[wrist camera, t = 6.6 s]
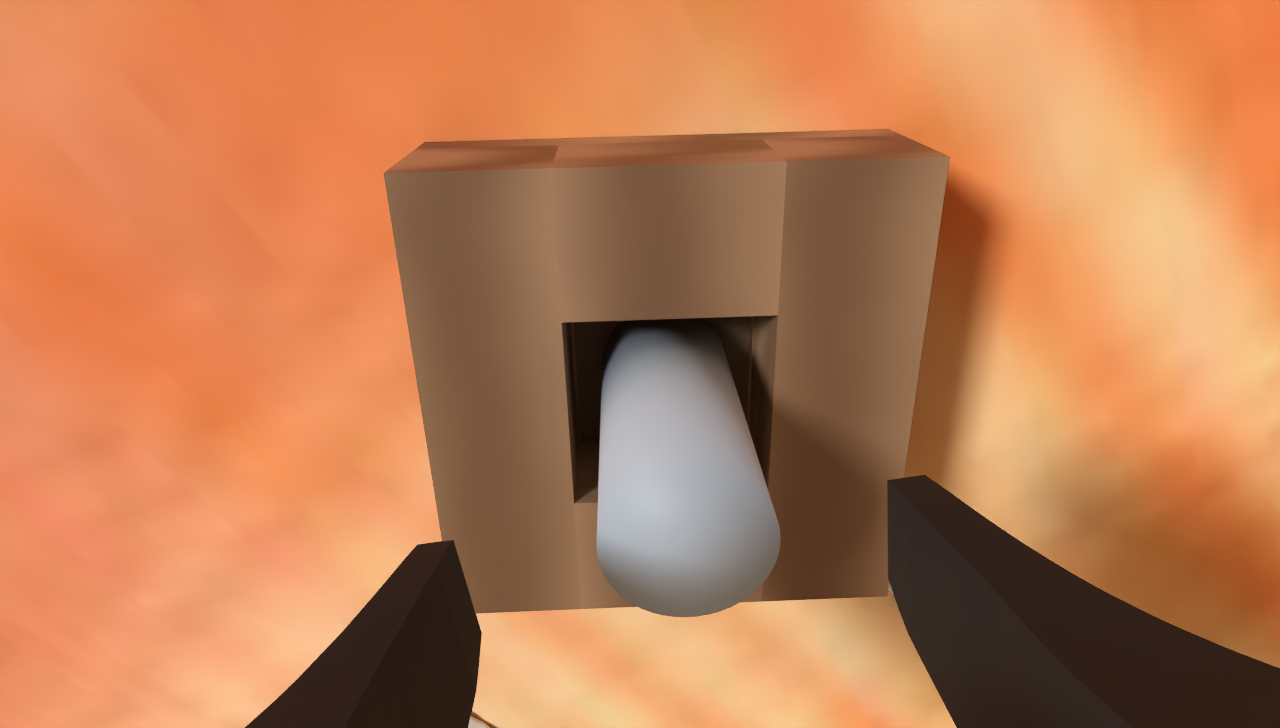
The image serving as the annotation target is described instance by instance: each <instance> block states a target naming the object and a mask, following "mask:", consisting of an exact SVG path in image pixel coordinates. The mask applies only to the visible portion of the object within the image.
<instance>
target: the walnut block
mask: <svg viewBox="0 0 1280 728" xmlns="http://www.w3.org/2000/svg"><path fill="white" fill-rule="evenodd" d="M949 160H950V157H949V156H947V155H945V154H942V153H940V152H938V151H936V150H934V149H931V148H929V147H927V146H925V145H922V144H920V143H918V142H916V141H914V140H911V139H909V138H907V137H905V136H903V135H900V134H898V133H896V132H894V131H891V130H889V129H883V130H847V131H811V132H775V133H740V134H704V135H668V136H632V137H597V138H561V139H525V140H489V141H454V142H425V143H423V144H422V145H421V146H419V147H418V148H417V149H415V150H414V151H413V152H411V153H410V154H409V155H407V156H406V157H405V158H403V159H402V160H401V161H399V162H398V163H397V164H395V165H394V166H393V167H391V168H390V169H389V170H387V171H386V172H385V173H384V178H385V184H386V190H387V197H388V203H389V209H390V216H391V222H392V228H393V234H394V241H395V247H396V253H397V260H398V266H399V272H400V278H401V285H402V291H403V297H404V304H405V310H406V316H407V323H408V329H409V335H410V341H411V348H412V354H413V360H414V367H415V373H416V379H417V385H418V392H419V398H420V404H421V411H422V417H423V423H424V429H425V436H426V442H427V448H428V455H429V461H430V467H431V474H432V480H433V486H434V492H435V499H436V505H437V511H438V518H439V524H440V530H441V536H442V541H449V540H454V543H455V547H456V550H457V553H458V557H459V560H460V563H461V567H462V570H463V573H464V577H465V580H466V583H467V587H468V590H469V593H470V597H471V600H472V603H473V606H474V610H475V613H495V612H519V611H543V610H567V609H590V608H614V607H638V606H636V605H634V604H632V603H630V602H629V601H627V600H626V599H624V598H623V597H622V596H621V595H620V594H618V593H617V592H616V591H615V590H614V589H613V587H612V586H611V585H610V584H609V583H608V581H607V579H606V578H605V576H604V575H603V572H602V570H601V568H600V565H599V561H598V557H597V548H596V544H597V513H598V481H599V450H600V418H601V386H602V359H603V352H604V348H605V345H606V342H607V340H608V338H609V337H610V335H611V333H612V332H613V331H614V329H615V328H616V327H617V326H618V325H619V324H620V323H621V322H622V321H625V320H655V319H685V318H704V319H705V320H706V321H707V322H708V323H709V324H710V325H711V326H712V327H713V328H714V329H715V331H716V332H717V334H718V336H719V338H720V340H721V342H722V345H723V349H724V352H725V355H726V358H727V361H728V365H729V368H730V371H731V374H732V377H733V380H734V384H735V387H736V390H737V393H738V396H739V399H740V403H741V406H742V409H743V412H744V415H745V418H746V422H747V425H748V428H749V431H750V434H751V438H752V441H753V444H754V447H755V450H756V453H757V457H758V460H759V463H760V466H761V469H762V472H763V476H764V479H765V482H766V485H767V488H768V492H769V495H770V498H771V501H772V504H773V507H774V511H775V514H776V517H777V520H778V524H779V528H780V536H781V538H780V549H779V555H778V558H777V560H776V563H775V566H774V567H773V569H772V571H771V573H770V575H769V576H768V577H767V579H766V580H765V581H764V583H763V584H762V585H761V586H760V587H759V588H758V589H757V590H756V591H755V592H753V593H752V594H751V595H750V596H749V597H747V598H746V599H744V600H742V601H741V602H757V601H781V600H805V599H829V598H853V597H877V596H887V592H888V585H889V580H888V510H887V480H892V479H899V478H904V474H905V467H906V460H907V453H908V446H909V439H910V432H911V425H912V418H913V411H914V404H915V397H916V390H917V383H918V376H919V369H920V362H921V355H922V348H923V341H924V334H925V327H926V320H927V313H928V306H929V299H930V292H931V285H932V278H933V271H934V265H935V258H936V251H937V244H938V237H939V230H940V223H941V216H942V209H943V202H944V195H945V188H946V181H947V174H948V167H949Z"/></svg>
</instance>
